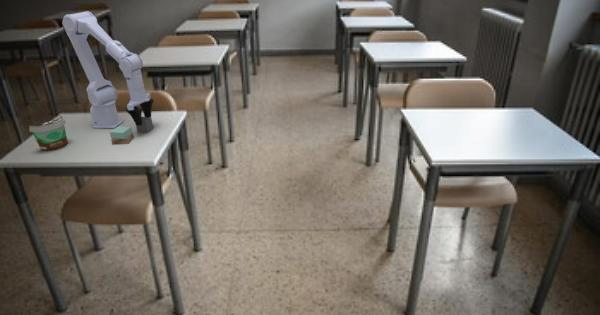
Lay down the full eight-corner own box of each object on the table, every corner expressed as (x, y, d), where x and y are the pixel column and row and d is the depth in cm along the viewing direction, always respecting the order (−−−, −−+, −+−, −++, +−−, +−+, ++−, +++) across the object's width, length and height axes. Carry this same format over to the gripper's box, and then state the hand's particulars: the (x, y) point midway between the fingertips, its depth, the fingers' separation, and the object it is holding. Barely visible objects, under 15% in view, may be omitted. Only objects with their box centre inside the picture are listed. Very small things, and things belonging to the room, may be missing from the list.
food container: (46, 155, 148) (37, 129, 143) (36, 151, 151) (27, 126, 146) (78, 142, 157) (71, 117, 152) (69, 139, 160) (61, 114, 155)
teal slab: (111, 138, 154) (109, 132, 153) (119, 132, 159) (118, 126, 158) (124, 139, 153) (122, 132, 152) (132, 133, 158) (131, 127, 157)
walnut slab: (112, 145, 154) (111, 139, 153) (118, 139, 160) (116, 133, 158) (129, 144, 154) (127, 138, 153) (134, 138, 160) (132, 132, 159)
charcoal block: (137, 132, 163) (134, 120, 161) (143, 128, 167) (140, 116, 165) (148, 133, 163) (145, 121, 160) (153, 128, 167) (151, 116, 164)
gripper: (136, 93, 150) (144, 128, 156) (154, 82, 163) (161, 114, 169) (118, 93, 151) (127, 128, 157) (138, 82, 164) (145, 114, 170)
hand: (143, 121), depth 163 cm, fingers open, 7 cm apart
